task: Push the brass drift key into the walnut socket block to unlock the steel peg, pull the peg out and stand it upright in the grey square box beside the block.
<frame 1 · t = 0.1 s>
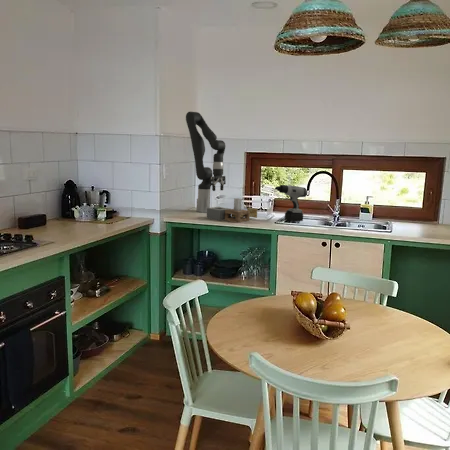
hand: (217, 190, 350), 17 cm above the table, tool pointing down, fingers open, 8 cm apart
grey square box: (218, 218, 333), on the table
drift key: (244, 213, 332), point 4 cm above the table, slide at 0.0 cm
cordless drill: (288, 220, 338), on the table
steel peg: (237, 209, 326), in the socket block
socket block: (236, 220, 327), on the table
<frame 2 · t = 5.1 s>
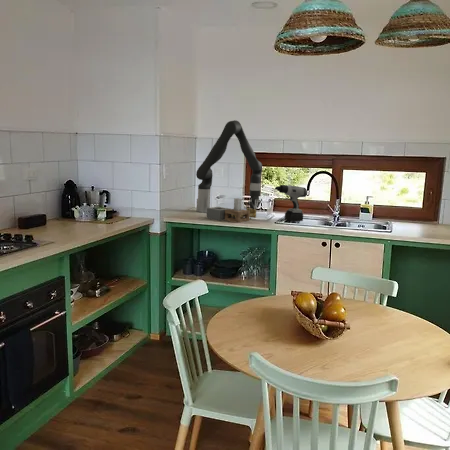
hand: (253, 213, 341), 3 cm above the table, tool pointing down, fingers closed
drift key: (243, 213, 332), point 4 cm above the table, slide at 1.2 cm, touching gripper
everything else where it was.
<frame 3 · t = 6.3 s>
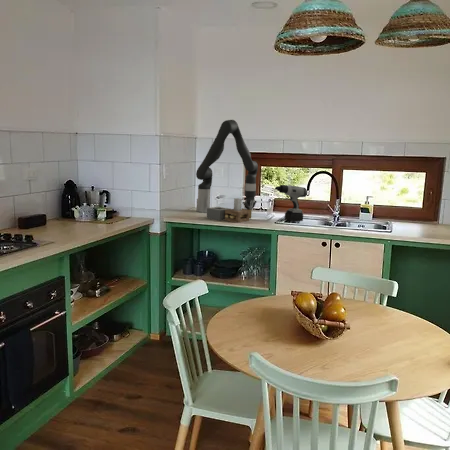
hand: (249, 214, 337), 3 cm above the table, tool pointing down, fingers closed
drift key: (238, 214, 328), point 4 cm above the table, slide at 6.6 cm, touching gripper
everything else where it was.
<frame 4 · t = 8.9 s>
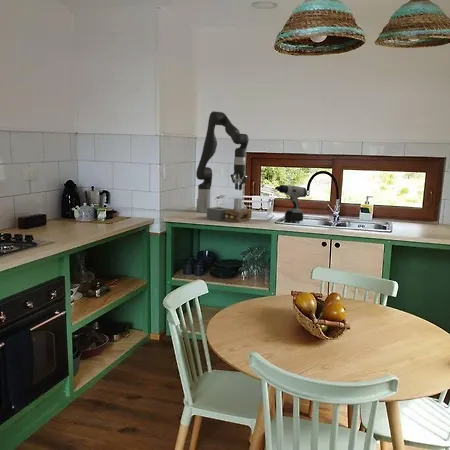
hand: (238, 189, 324), 21 cm above the table, tool pointing down, fingers closed
drift key: (238, 214, 328), point 4 cm above the table, slide at 6.5 cm
everything else where it was.
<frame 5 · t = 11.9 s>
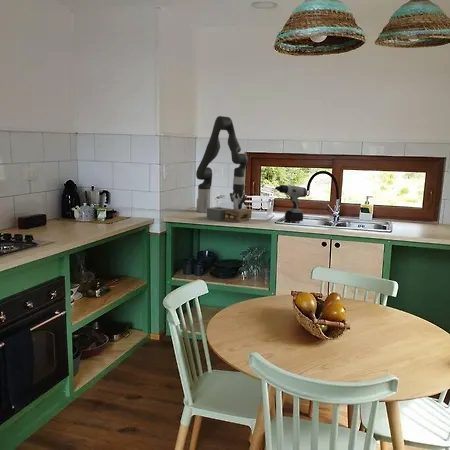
hand: (237, 208, 326), 8 cm above the table, tool pointing down, fingers closed on steel peg, 3 cm apart
steel peg: (237, 209, 326), in the socket block, touching gripper
everything else where it was.
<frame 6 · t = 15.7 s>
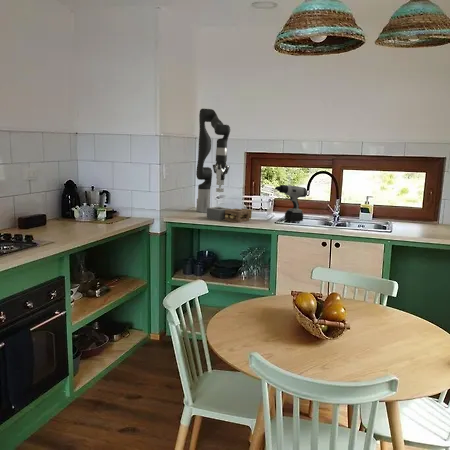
hand: (220, 179, 328), 27 cm above the table, tool pointing down, fingers closed on steel peg, 3 cm apart
steel peg: (220, 180, 328), point 26 cm above the table, touching gripper
everything else where it was.
when the fingers open (10 cm above the table, at t = 19.9 s): steel peg drops 1 cm, resting in grey square box.
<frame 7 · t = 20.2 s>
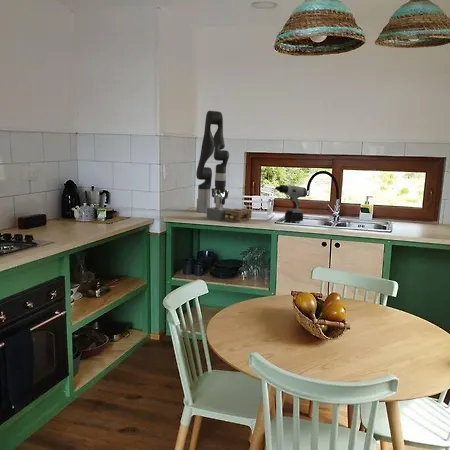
hand: (219, 204, 331), 10 cm above the table, tool pointing down, fingers open, 6 cm apart
steel peg: (219, 207, 331), in the grey square box
everything else where it was.
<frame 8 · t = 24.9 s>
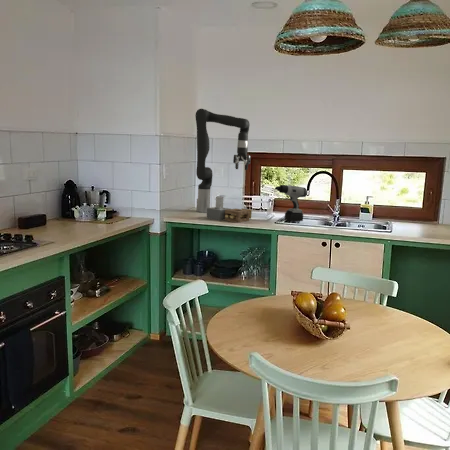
hand: (241, 169, 348), 33 cm above the table, tool pointing down, fingers open, 8 cm apart
nothing on the table moved.
at the end: drift key slide at 6.5 cm; steel peg 0.0 cm off-centre on the grey square box, point 7.5 cm above the grey square box's base; steel peg tilted 0° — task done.
